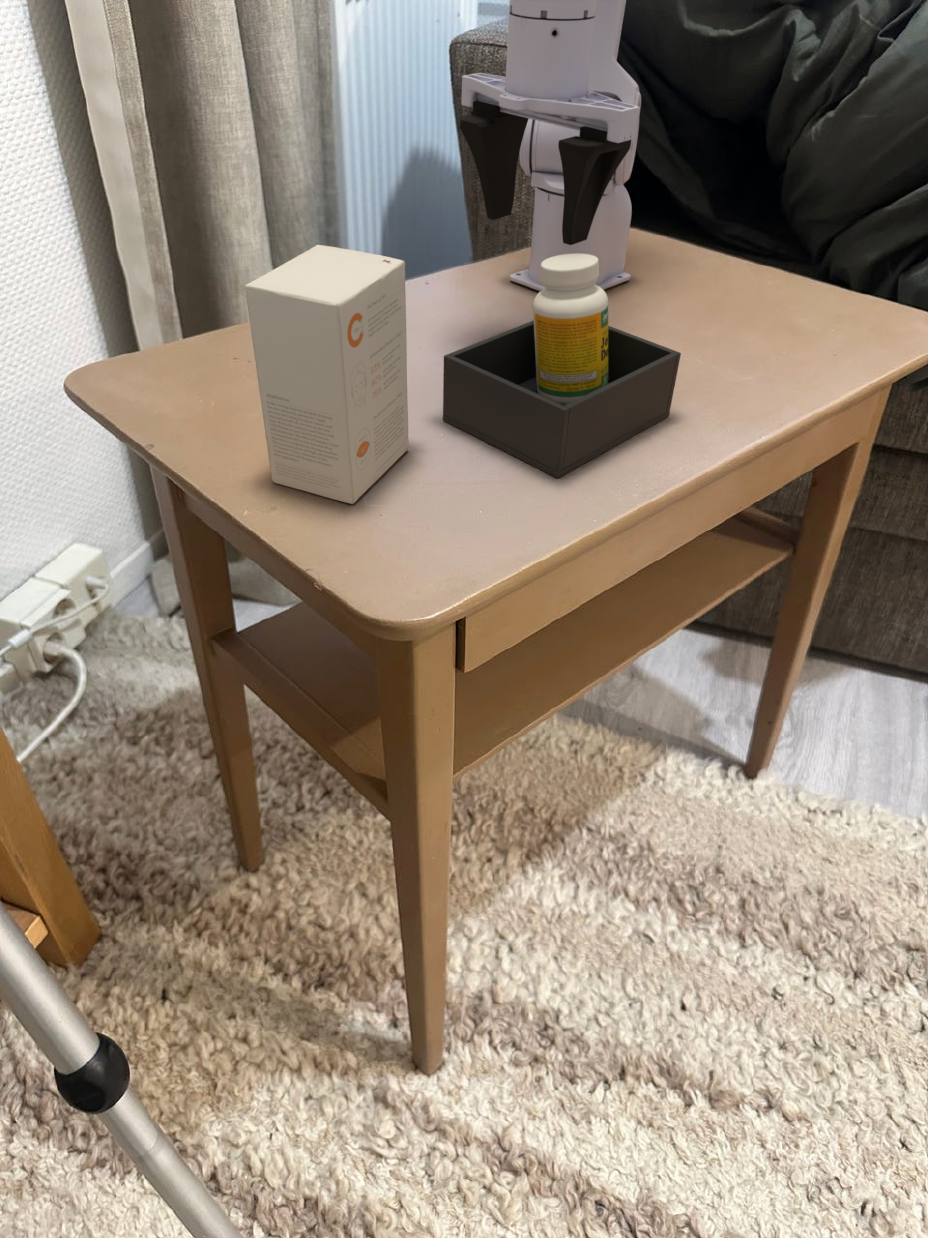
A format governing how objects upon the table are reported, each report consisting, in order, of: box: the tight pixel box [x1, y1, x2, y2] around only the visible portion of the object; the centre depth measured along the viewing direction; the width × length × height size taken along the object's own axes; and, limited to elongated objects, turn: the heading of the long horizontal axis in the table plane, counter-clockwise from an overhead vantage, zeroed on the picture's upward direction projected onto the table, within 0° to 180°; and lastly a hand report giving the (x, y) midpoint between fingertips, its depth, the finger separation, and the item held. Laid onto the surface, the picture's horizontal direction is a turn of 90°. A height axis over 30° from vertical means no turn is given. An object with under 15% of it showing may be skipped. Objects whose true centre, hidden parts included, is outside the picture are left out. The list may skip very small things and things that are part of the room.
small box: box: [244, 244, 410, 505], centre depth 56 cm, size 8×6×13 cm
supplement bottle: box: [532, 254, 609, 405], centre depth 65 cm, size 5×5×10 cm
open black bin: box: [442, 319, 682, 479], centre depth 65 cm, size 13×11×5 cm
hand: (535, 228), depth 68 cm, fingers open, 7 cm apart
